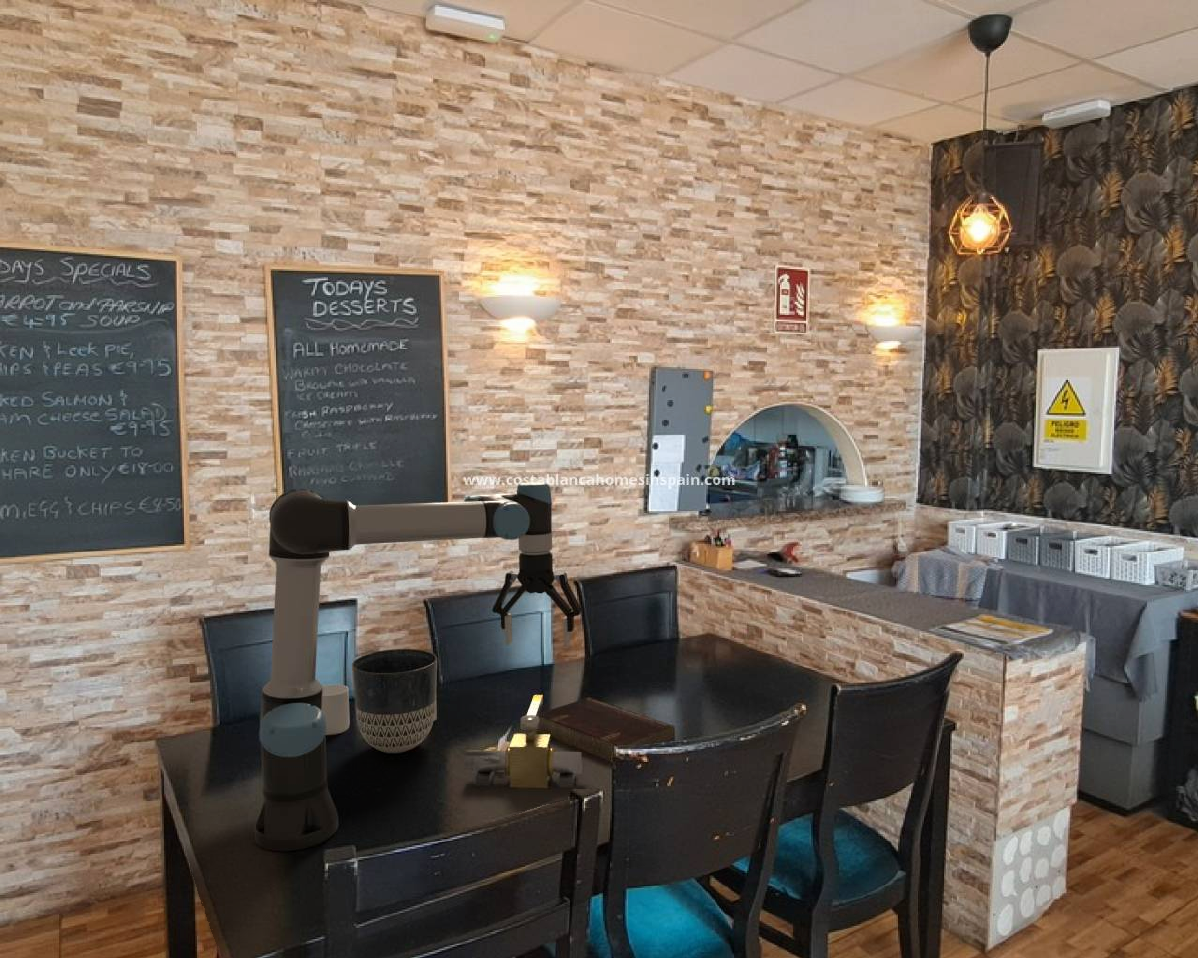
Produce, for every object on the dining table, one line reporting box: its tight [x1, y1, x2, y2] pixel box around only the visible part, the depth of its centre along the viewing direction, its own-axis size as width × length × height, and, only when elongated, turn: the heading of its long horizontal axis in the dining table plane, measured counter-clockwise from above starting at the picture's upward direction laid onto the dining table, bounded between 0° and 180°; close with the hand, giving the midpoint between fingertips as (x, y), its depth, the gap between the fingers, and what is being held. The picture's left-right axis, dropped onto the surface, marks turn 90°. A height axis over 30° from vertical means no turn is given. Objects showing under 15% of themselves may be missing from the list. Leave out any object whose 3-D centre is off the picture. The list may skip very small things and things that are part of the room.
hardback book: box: [536, 696, 676, 762], centre depth 211 cm, size 29×19×5 cm, turn 45°
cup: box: [321, 684, 350, 736], centre depth 218 cm, size 8×12×10 cm
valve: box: [464, 730, 583, 789], centre depth 187 cm, size 7×25×12 cm, turn 87°
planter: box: [351, 648, 438, 754], centre depth 204 cm, size 20×20×21 cm
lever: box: [520, 694, 544, 731], centre depth 193 cm, size 17×4×2 cm, turn 177°
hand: (537, 644), depth 195 cm, fingers open, 13 cm apart
